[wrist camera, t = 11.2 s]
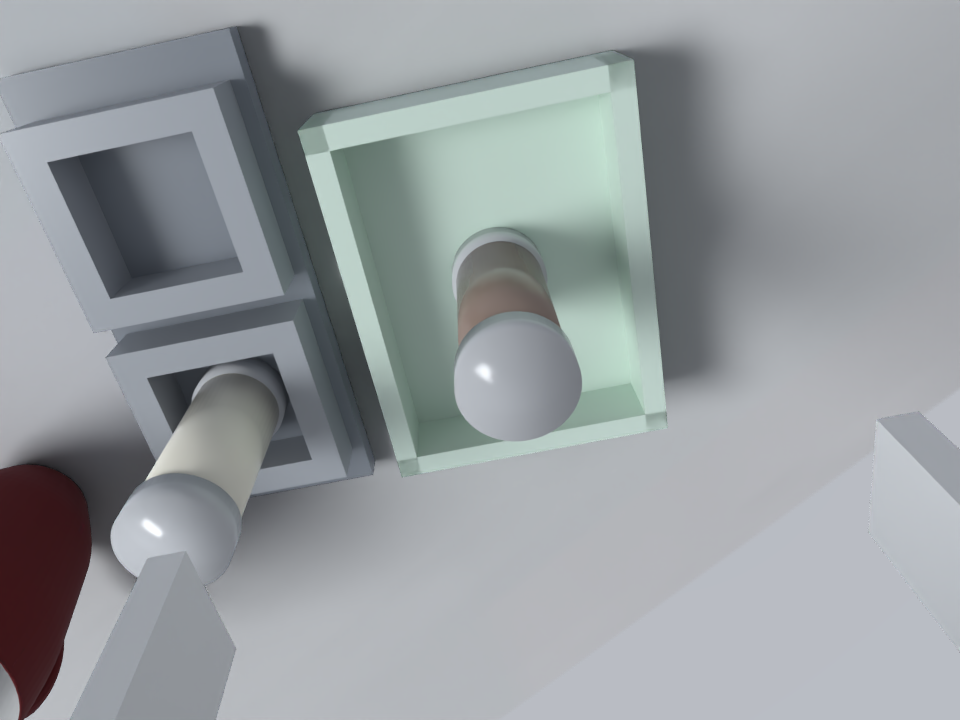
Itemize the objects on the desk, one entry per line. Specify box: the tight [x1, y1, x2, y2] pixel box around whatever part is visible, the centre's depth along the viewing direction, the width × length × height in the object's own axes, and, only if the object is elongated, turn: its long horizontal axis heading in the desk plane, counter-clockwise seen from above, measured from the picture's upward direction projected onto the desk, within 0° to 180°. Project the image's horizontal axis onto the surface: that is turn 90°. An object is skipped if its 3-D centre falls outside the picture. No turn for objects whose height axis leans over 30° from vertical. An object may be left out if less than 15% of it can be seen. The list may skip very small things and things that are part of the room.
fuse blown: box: [452, 227, 582, 441], centre depth 24 cm, size 4×4×9 cm
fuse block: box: [0, 26, 375, 498], centre depth 28 cm, size 18×8×3 cm, turn 11°
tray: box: [298, 50, 668, 477], centre depth 27 cm, size 14×11×3 cm
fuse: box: [111, 357, 289, 585], centre depth 26 cm, size 4×4×9 cm
